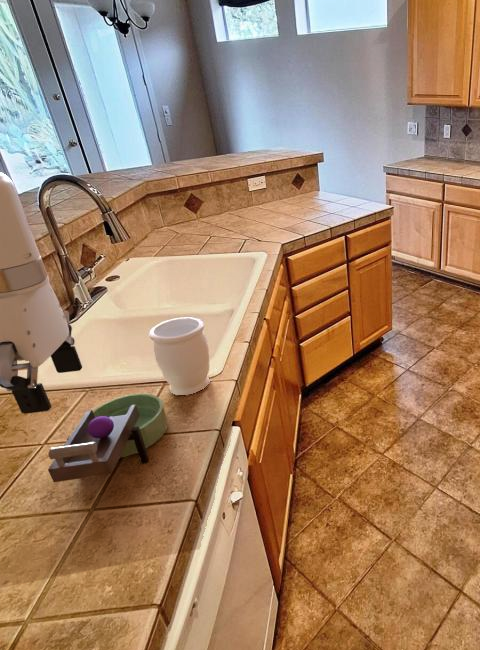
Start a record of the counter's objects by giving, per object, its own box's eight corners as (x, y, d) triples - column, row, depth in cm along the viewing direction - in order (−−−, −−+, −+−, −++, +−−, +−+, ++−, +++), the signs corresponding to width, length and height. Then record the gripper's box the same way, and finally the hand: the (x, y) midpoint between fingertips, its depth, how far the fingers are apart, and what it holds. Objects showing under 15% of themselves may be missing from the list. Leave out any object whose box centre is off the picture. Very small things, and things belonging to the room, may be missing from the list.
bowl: (76, 466, 75) (67, 444, 73) (105, 418, 87) (97, 398, 85) (158, 454, 78) (152, 432, 76) (175, 409, 90) (170, 389, 88)
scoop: (52, 484, 64) (38, 454, 61) (91, 421, 76) (81, 394, 74) (110, 475, 65) (99, 446, 63) (139, 415, 78) (131, 389, 75)
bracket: (80, 473, 74) (66, 439, 71) (82, 468, 75) (69, 435, 72) (147, 463, 76) (137, 429, 73) (149, 458, 77) (138, 426, 74)
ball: (92, 442, 72) (81, 437, 69) (95, 420, 74) (85, 415, 70) (116, 438, 73) (106, 434, 70) (118, 417, 74) (109, 412, 71)
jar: (199, 367, 104) (186, 312, 98) (224, 382, 99) (213, 324, 92) (155, 388, 96) (138, 329, 90) (180, 405, 91) (165, 344, 84)
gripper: (11, 257, 60) (53, 361, 67) (-81, 307, 45) (-14, 435, 52) (72, 253, 62) (107, 355, 69) (3, 300, 46) (56, 425, 54)
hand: (55, 389), depth 60 cm, fingers open, 9 cm apart
